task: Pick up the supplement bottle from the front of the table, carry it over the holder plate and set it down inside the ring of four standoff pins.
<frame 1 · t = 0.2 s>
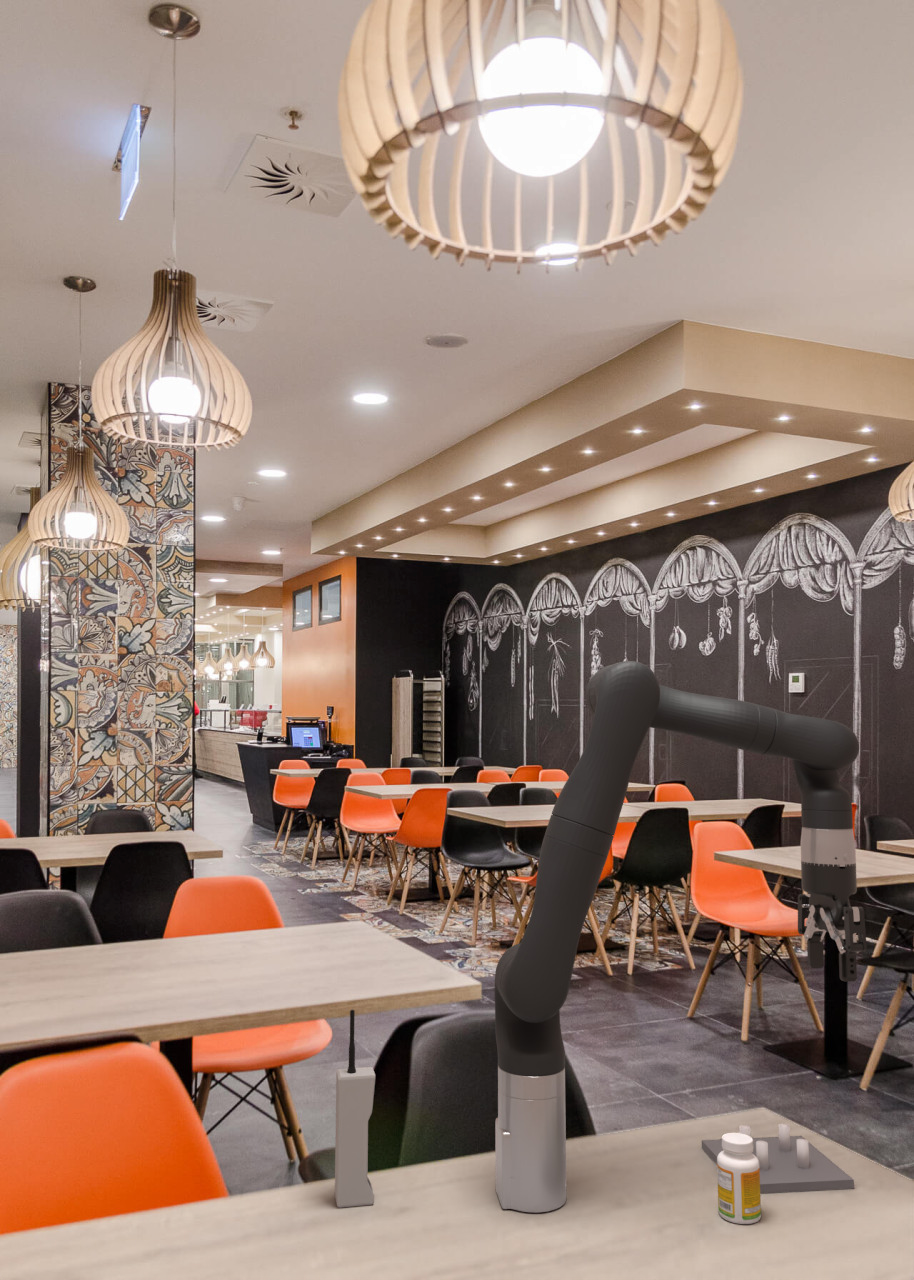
hand: (831, 974, 143), 28 cm above the table, fingers open, 8 cm apart
supplement bottle: (739, 1217, 130), on the table
pin holder: (774, 1167, 145), on the table
vintage mobile phone: (354, 1202, 135), on the table
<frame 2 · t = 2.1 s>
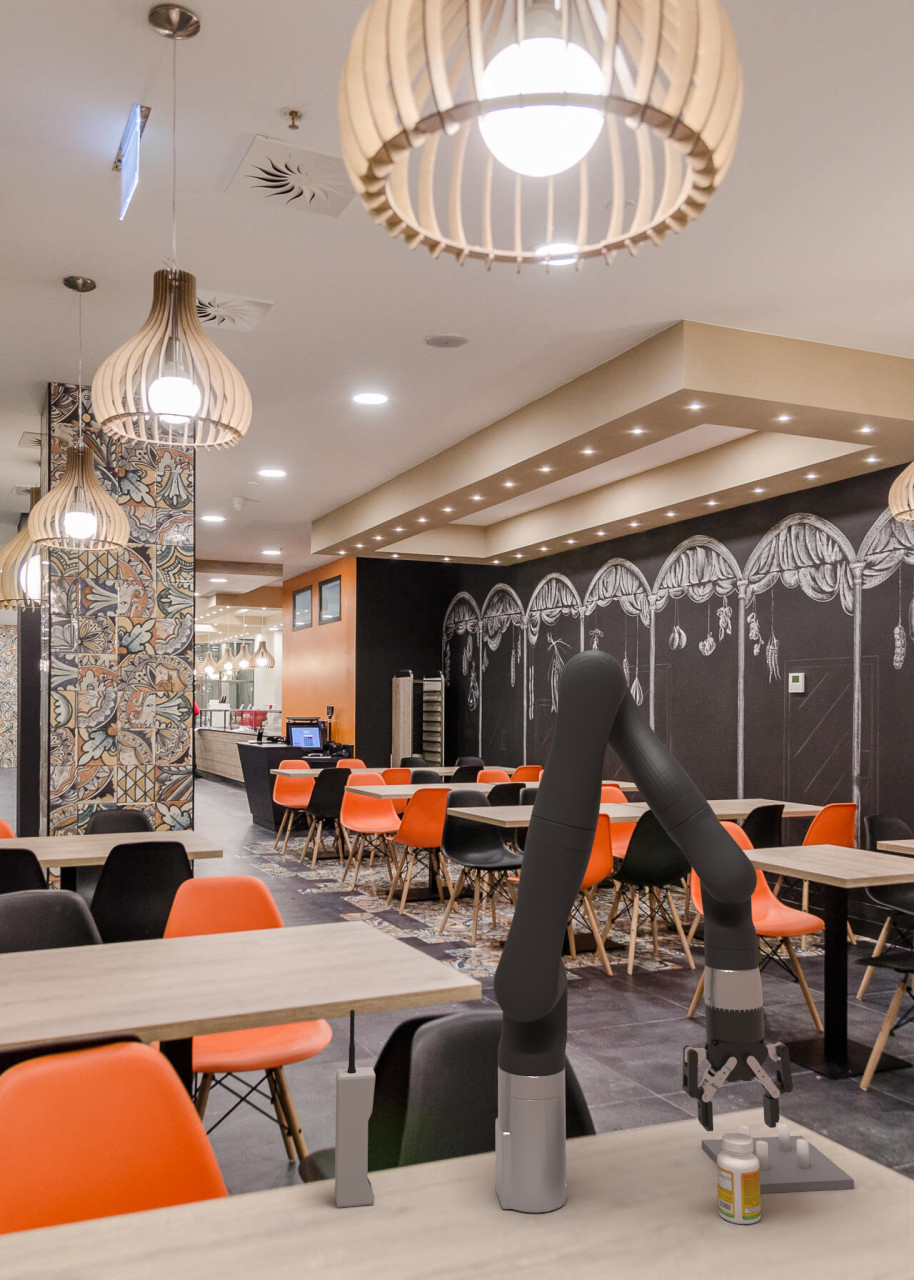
hand: (739, 1127, 131), 11 cm above the table, fingers open, 8 cm apart
nothing on the table moved.
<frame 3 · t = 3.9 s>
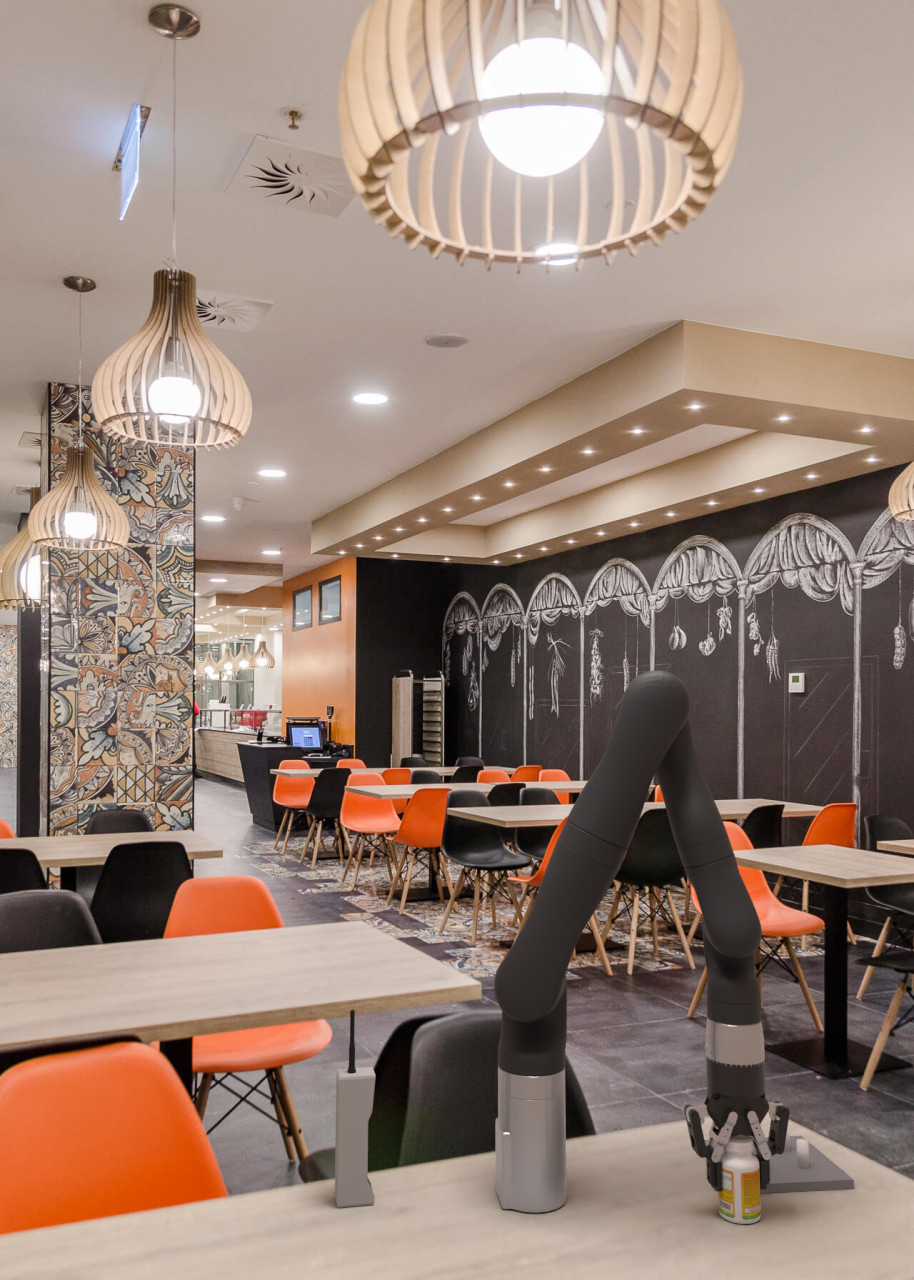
hand: (738, 1187, 131), 3 cm above the table, fingers closed on supplement bottle, 5 cm apart
supplement bottle: (739, 1217, 130), on the table, touching gripper
everything else where it was.
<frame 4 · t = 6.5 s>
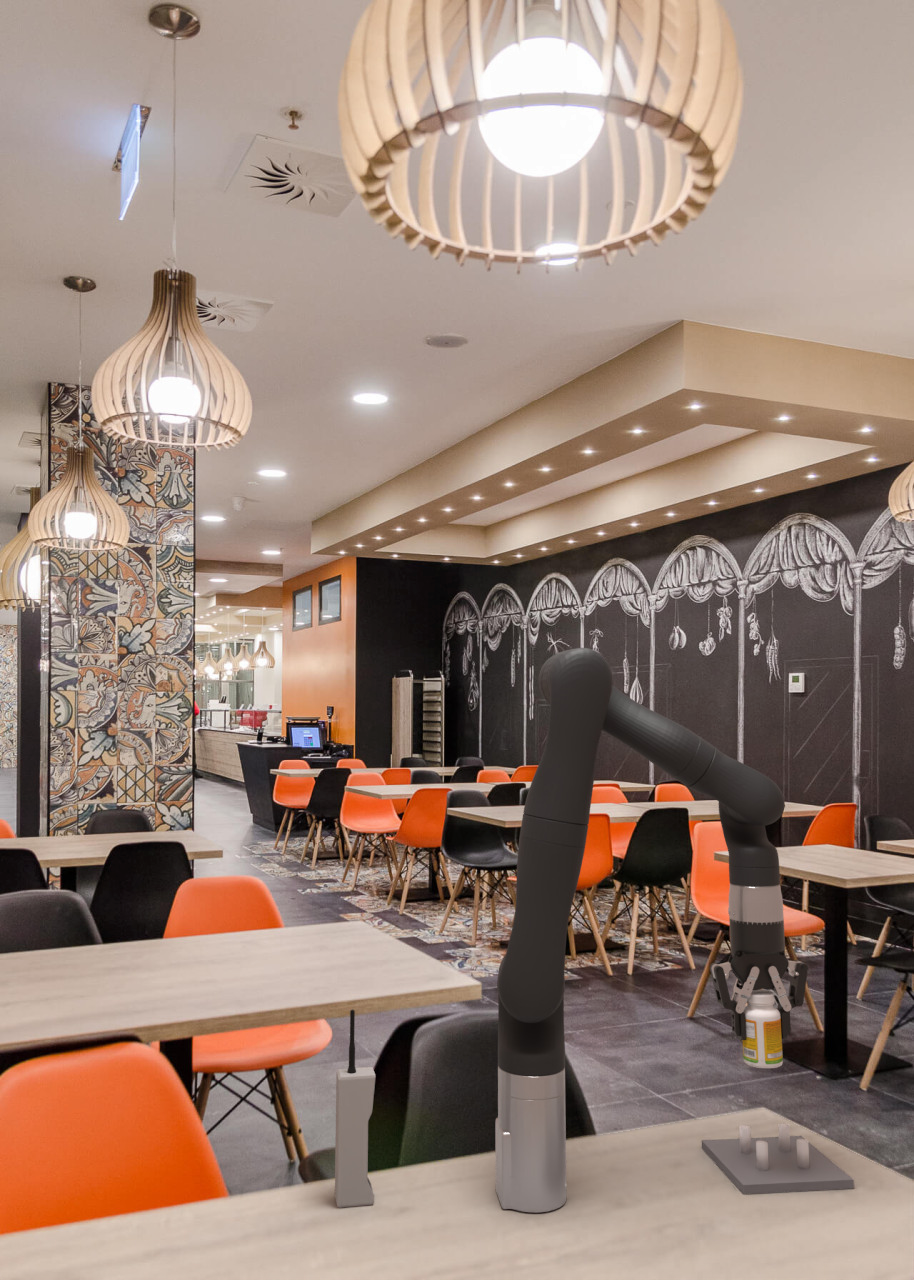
hand: (761, 1037, 142), 20 cm above the table, fingers closed on supplement bottle, 5 cm apart
supplement bottle: (763, 1064, 141), point 16 cm above the table, touching gripper
everything else where it was.
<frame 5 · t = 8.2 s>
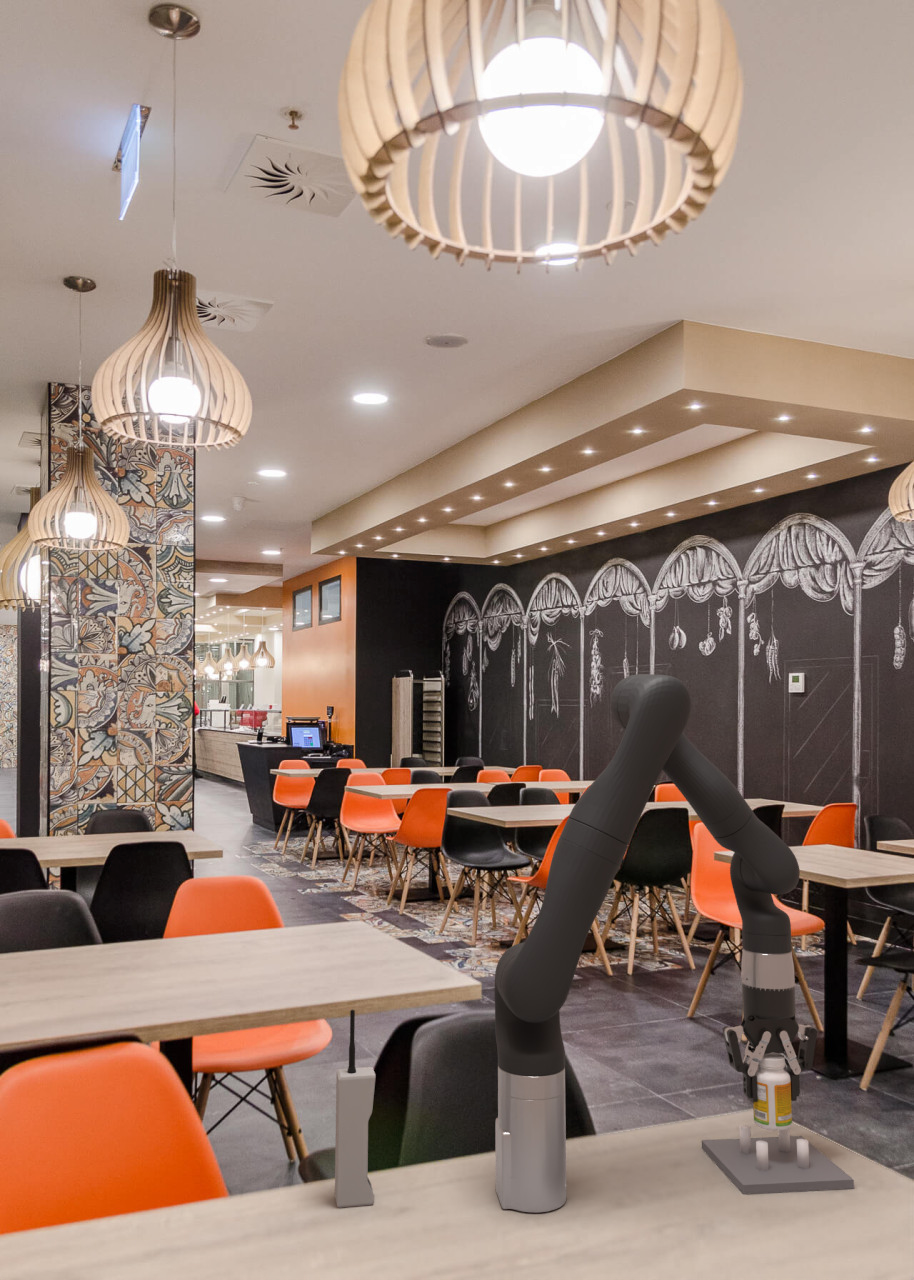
hand: (771, 1099, 146), 10 cm above the table, fingers closed on supplement bottle, 5 cm apart
supplement bottle: (773, 1126, 146), point 6 cm above the table, touching gripper
everything else where it was.
when the fingers open (6 cm above the table, at t = 9.4 s): supplement bottle drops 1 cm, resting on pin holder.
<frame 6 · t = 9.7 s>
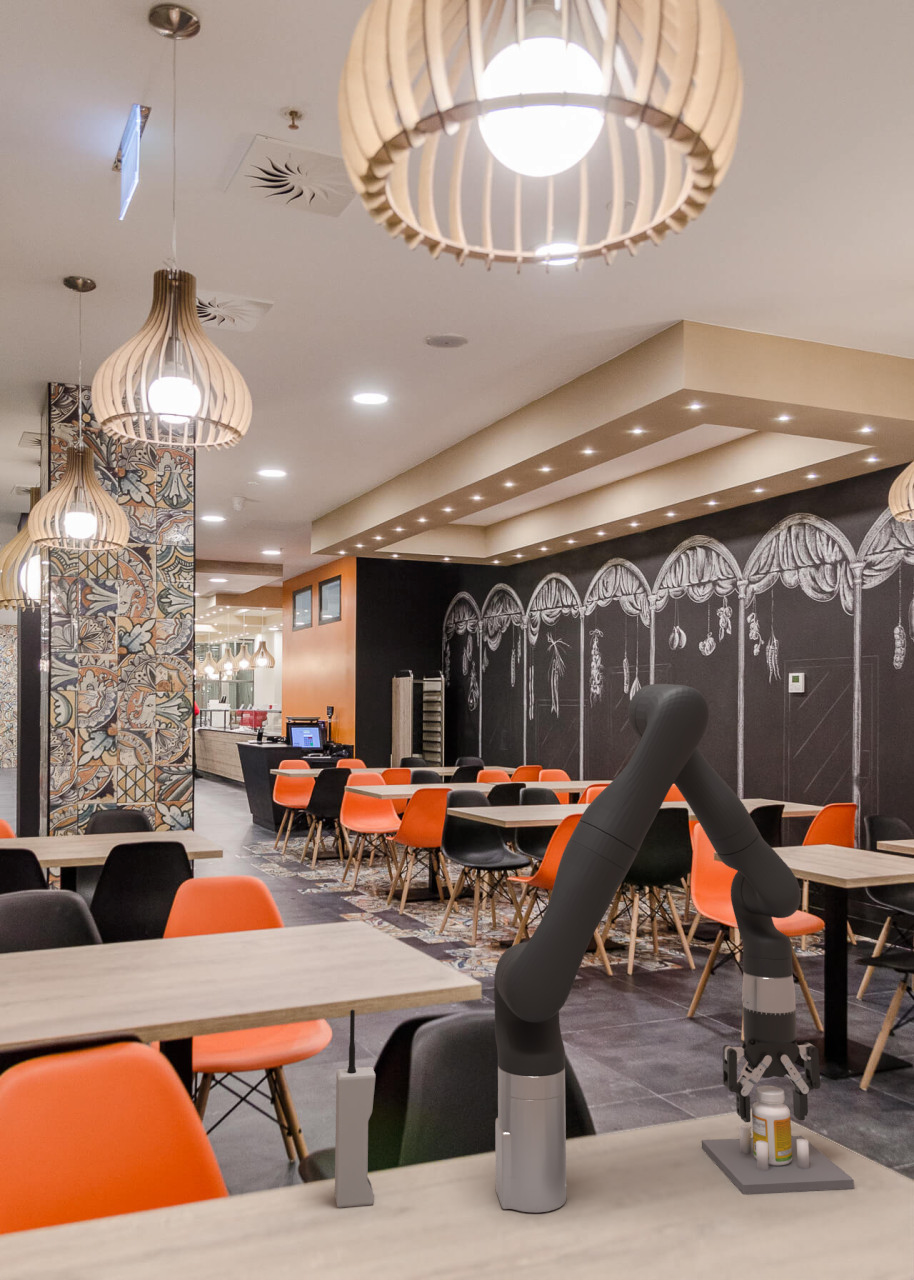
hand: (772, 1119, 146), 7 cm above the table, fingers open, 8 cm apart
supplement bottle: (772, 1160, 145), point 1 cm above the table, touching pin holder
everything else where it was.
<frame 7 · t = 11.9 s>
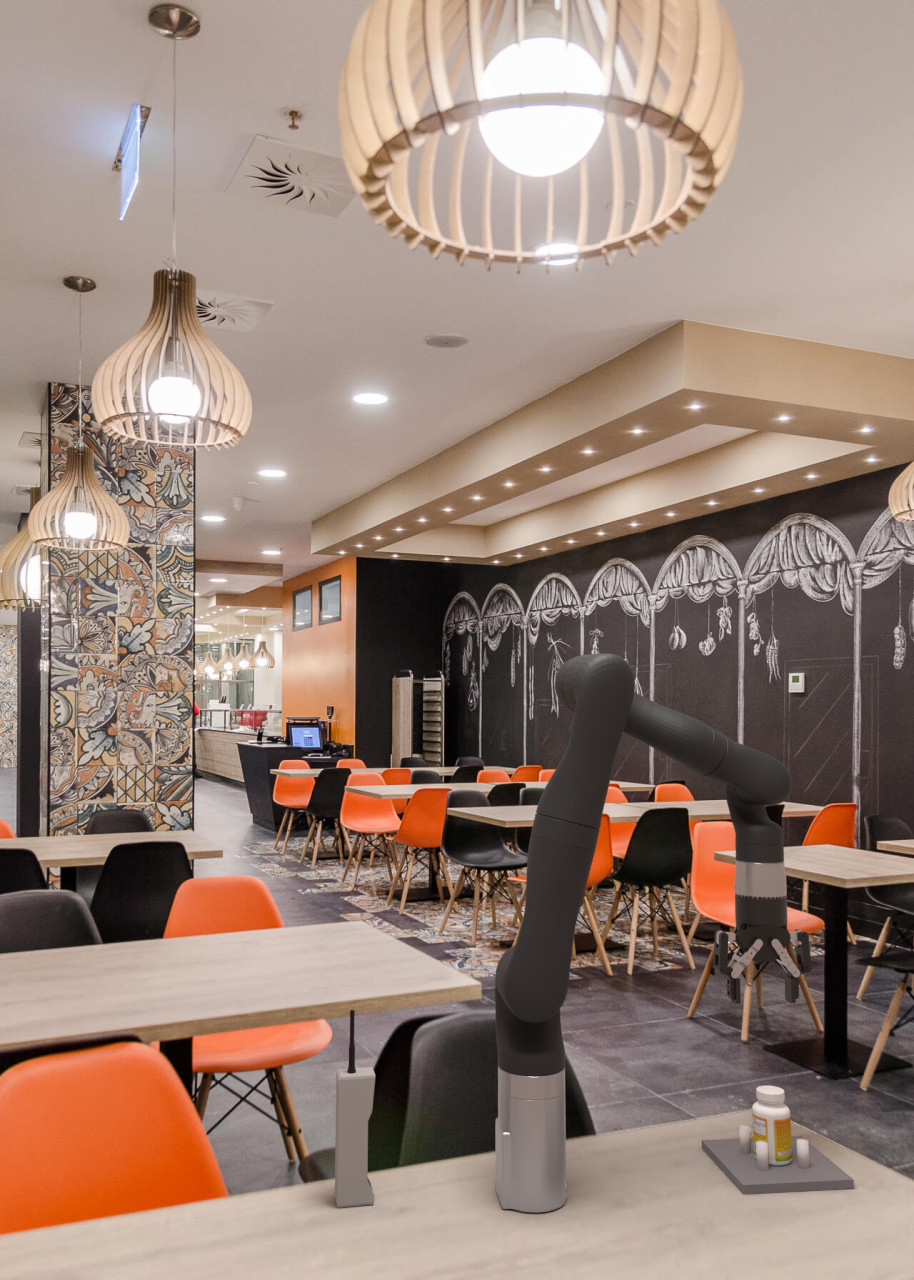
hand: (763, 1002, 149), 23 cm above the table, fingers open, 8 cm apart
nothing on the table moved.
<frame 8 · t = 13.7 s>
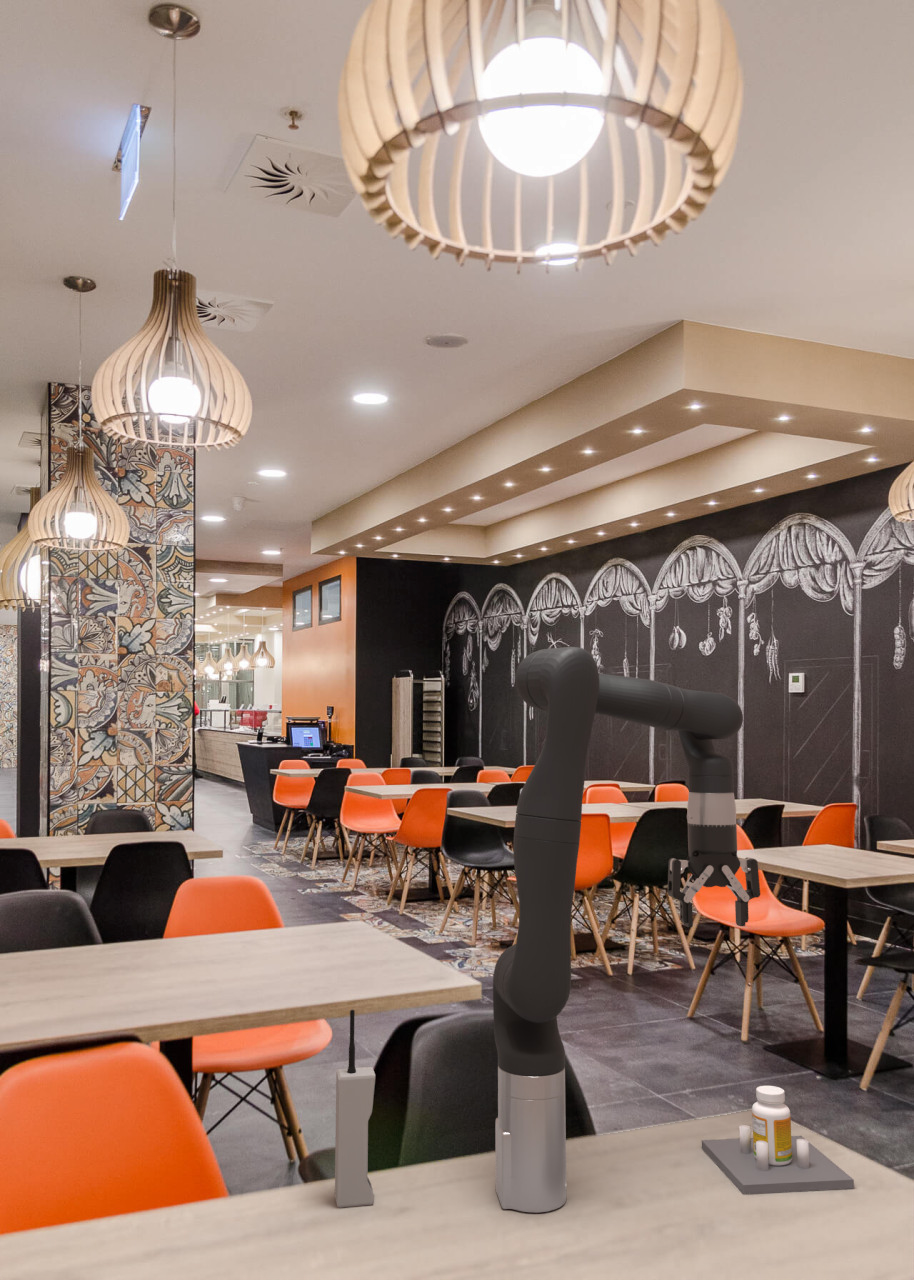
hand: (714, 926, 156), 33 cm above the table, fingers open, 8 cm apart
nothing on the table moved.
at the end: supplement bottle 0.2 cm off-centre on the pin holder, point 1.0 cm above the pin holder's base; supplement bottle tilted 0°; the gripper is holding nothing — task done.
